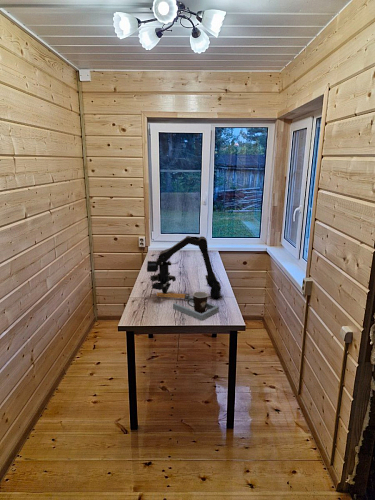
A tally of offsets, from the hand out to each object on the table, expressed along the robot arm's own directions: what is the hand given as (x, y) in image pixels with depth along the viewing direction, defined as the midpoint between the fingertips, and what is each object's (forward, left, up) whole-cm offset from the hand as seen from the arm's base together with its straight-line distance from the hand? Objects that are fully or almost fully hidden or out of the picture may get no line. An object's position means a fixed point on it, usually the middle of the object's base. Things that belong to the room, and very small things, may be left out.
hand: (164, 294), depth 202 cm
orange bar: (-1, +6, 0) cm, 6 cm away
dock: (0, +24, -2) cm, 24 cm away
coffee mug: (0, +28, -2) cm, 28 cm away
